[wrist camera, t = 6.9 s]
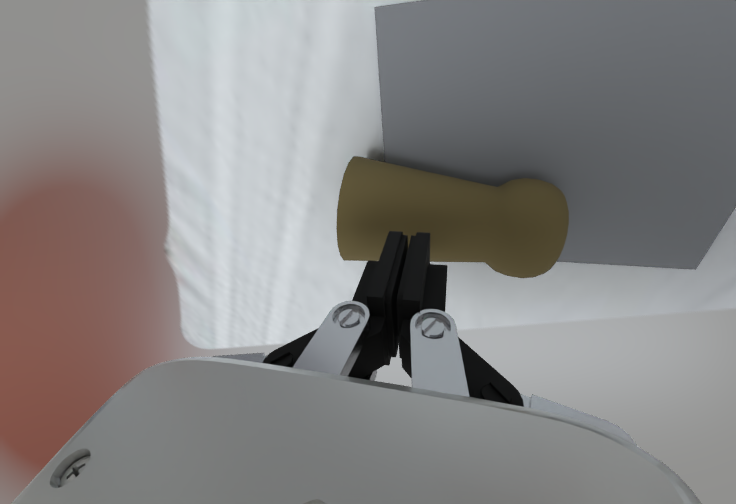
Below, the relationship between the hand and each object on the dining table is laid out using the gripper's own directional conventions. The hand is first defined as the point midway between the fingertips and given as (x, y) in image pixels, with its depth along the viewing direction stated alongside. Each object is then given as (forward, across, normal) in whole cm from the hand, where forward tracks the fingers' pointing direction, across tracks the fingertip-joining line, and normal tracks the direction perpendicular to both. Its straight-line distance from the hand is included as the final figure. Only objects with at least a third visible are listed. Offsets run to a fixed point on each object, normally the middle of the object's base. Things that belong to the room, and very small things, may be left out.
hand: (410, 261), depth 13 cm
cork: (+5, +4, 0) cm, 7 cm away
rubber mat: (+8, -6, -2) cm, 11 cm away
